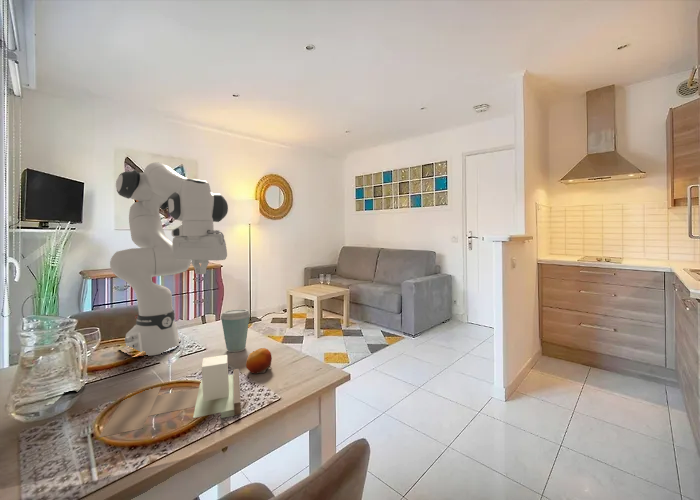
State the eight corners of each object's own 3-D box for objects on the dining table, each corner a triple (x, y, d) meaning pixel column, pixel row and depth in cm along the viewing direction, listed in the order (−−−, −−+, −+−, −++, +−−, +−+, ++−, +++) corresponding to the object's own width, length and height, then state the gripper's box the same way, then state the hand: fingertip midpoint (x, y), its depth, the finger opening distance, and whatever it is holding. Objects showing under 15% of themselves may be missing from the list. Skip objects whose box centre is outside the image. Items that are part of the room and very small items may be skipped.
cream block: (203, 401, 80) (201, 367, 79) (205, 390, 86) (203, 358, 85) (228, 396, 82) (227, 363, 82) (228, 386, 88) (227, 354, 87)
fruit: (270, 372, 96) (257, 349, 96) (251, 384, 97) (237, 361, 98) (281, 361, 104) (269, 340, 104) (263, 372, 105) (251, 351, 106)
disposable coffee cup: (219, 348, 121) (217, 309, 120) (247, 342, 127) (246, 305, 126) (225, 357, 112) (223, 315, 111) (255, 350, 118) (254, 310, 117)
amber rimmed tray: (99, 444, 67) (98, 430, 67) (127, 397, 86) (127, 387, 85) (241, 414, 77) (240, 402, 77) (239, 378, 96) (238, 368, 95)
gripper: (230, 229, 98) (232, 273, 99) (185, 230, 107) (187, 271, 107) (214, 230, 92) (216, 276, 93) (167, 231, 101) (170, 274, 102)
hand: (200, 274), depth 100 cm, fingers closed
